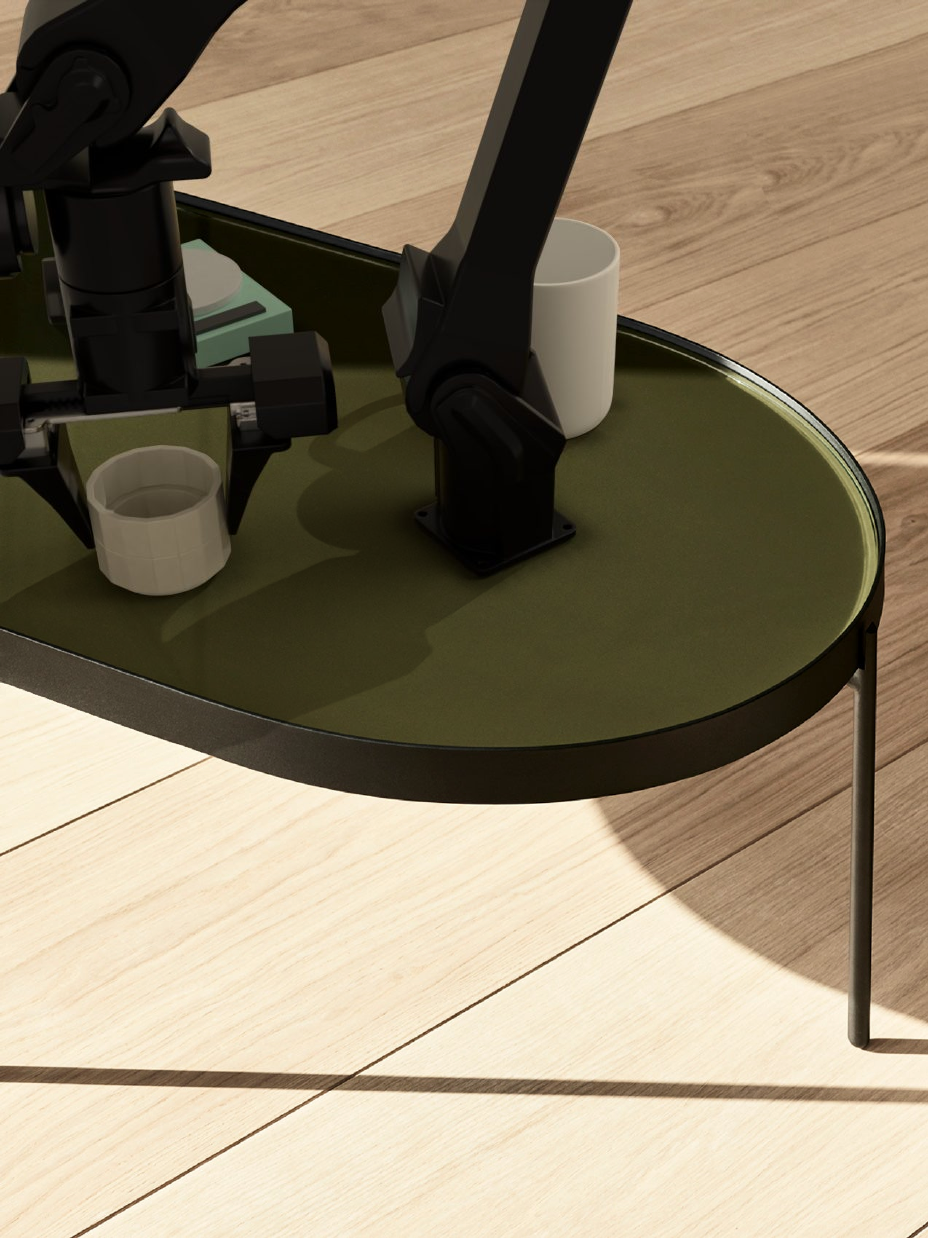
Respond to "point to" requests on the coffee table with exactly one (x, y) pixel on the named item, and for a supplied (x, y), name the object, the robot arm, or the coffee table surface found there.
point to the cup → (577, 321)
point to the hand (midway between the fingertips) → (163, 537)
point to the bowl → (159, 519)
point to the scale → (228, 305)
